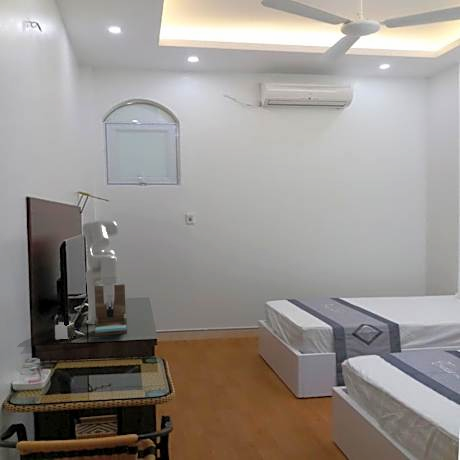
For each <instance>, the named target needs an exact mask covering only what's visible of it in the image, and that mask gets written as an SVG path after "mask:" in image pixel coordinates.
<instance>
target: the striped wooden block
mask: <svg viewBox="0 0 460 460" xmlns="http://www.w3.org/2000/svg"><path fill="white" fill-rule="evenodd" d="M125 285H126V284H125V283H124V284H114V303H113V315H114V316H113V317H107V303H105V304H104V293H103V285H100V286H94V288H95V312H96V317H95V324H94V330H95V329H96V327H105V326H117V325H126V327H127V328H128V323H127V311H126V309H127V308H126V300H125V298H126V287H125ZM124 334H128V329H127V330H118V331H107V332H95V337H101V336H102V335H103V336H112V335H114V336H115V335H124Z"/></svg>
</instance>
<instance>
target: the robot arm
mask: <svg viewBox="0 0 460 460" xmlns="http://www.w3.org/2000/svg"><path fill="white" fill-rule="evenodd" d="M118 232H119V226H118V224H117V222H116V221H115V220H97V221H91V222H86V223H84V224H83V225H82V233H83V237H84V238H85V242H86V245H87V246H86V247H87V251H86V252H87V253H86V258H87V264H88V266H89V268H90V269H88V270H86V272H85V282H86V287H87V304H88V306H87V308H88V319H87V320H86V324H87V325H95V317H96V312H95V288H94V286H103V293H104V304H105V303H107V317H113V316H114V315H113V303H114V285H117V283H118V279H117V264H118V258H117V256H116V253H115V251H114V250H112V249H106V248H108V247H109V245H110V242H111V240H110V237H115V236H117V235H118V234H119V233H118Z"/></svg>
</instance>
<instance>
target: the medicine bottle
mask: <svg viewBox="0 0 460 460" xmlns="http://www.w3.org/2000/svg"><path fill="white" fill-rule="evenodd" d="M68 319H69V325H67V326H65V325H64V317H63V316H62V314H59V315H58V317H57V320H58V321H57V322H58V324H55V325H54V334H55V336H54V338H55V340H60V339H68V340H70V339H72V338H74V337H73V336H75V337H76V329H75V323H74V322H72V319H71V314H69V315H68ZM71 337H72V338H71ZM69 338H70V339H69Z"/></svg>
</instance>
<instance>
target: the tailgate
mask: <svg viewBox="0 0 460 460" xmlns="http://www.w3.org/2000/svg"><path fill="white" fill-rule="evenodd" d="M118 330H127V331H128V326H127V327H126V325H117V326H105V327H96V329H95V328H94V331H95V332H107V331H118Z"/></svg>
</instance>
